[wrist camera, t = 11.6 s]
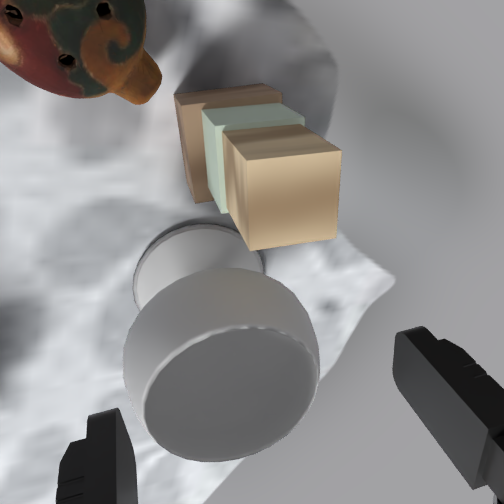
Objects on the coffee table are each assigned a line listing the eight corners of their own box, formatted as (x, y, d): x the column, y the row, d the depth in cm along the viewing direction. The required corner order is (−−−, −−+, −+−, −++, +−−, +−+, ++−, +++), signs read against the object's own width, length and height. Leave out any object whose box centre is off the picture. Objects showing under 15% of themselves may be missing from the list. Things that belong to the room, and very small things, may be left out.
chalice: (214, 180, 38) (262, 267, 25) (297, 283, 45) (368, 392, 32) (87, 279, 39) (71, 411, 26) (188, 364, 46) (214, 500, 33)
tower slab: (173, 93, 34) (180, 105, 30) (262, 83, 35) (281, 93, 31) (186, 181, 37) (195, 203, 33) (267, 168, 39) (285, 188, 34)
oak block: (221, 131, 26) (246, 160, 21) (300, 123, 27) (341, 150, 22) (226, 207, 28) (249, 251, 23) (298, 198, 29) (336, 238, 24)
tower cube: (201, 109, 30) (214, 125, 26) (279, 102, 31) (305, 117, 27) (208, 187, 33) (221, 213, 28) (280, 178, 34) (303, 202, 30)
